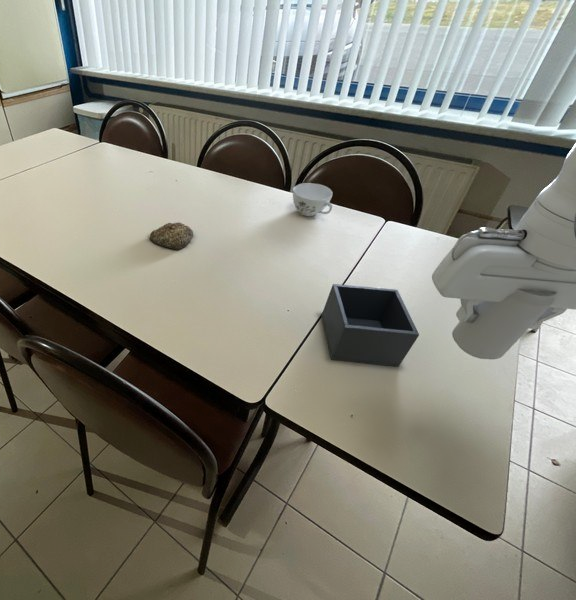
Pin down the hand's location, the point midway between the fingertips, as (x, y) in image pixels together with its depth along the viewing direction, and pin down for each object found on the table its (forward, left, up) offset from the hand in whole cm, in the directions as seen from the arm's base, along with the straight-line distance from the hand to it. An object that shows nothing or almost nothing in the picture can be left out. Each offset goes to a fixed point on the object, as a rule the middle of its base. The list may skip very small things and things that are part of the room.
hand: (494, 322), depth 49 cm
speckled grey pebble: (+56, +52, -26) cm, 81 cm away
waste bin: (+20, +5, -26) cm, 33 cm away
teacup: (+78, +8, -26) cm, 82 cm away
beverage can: (0, 0, -5) cm, 5 cm away
